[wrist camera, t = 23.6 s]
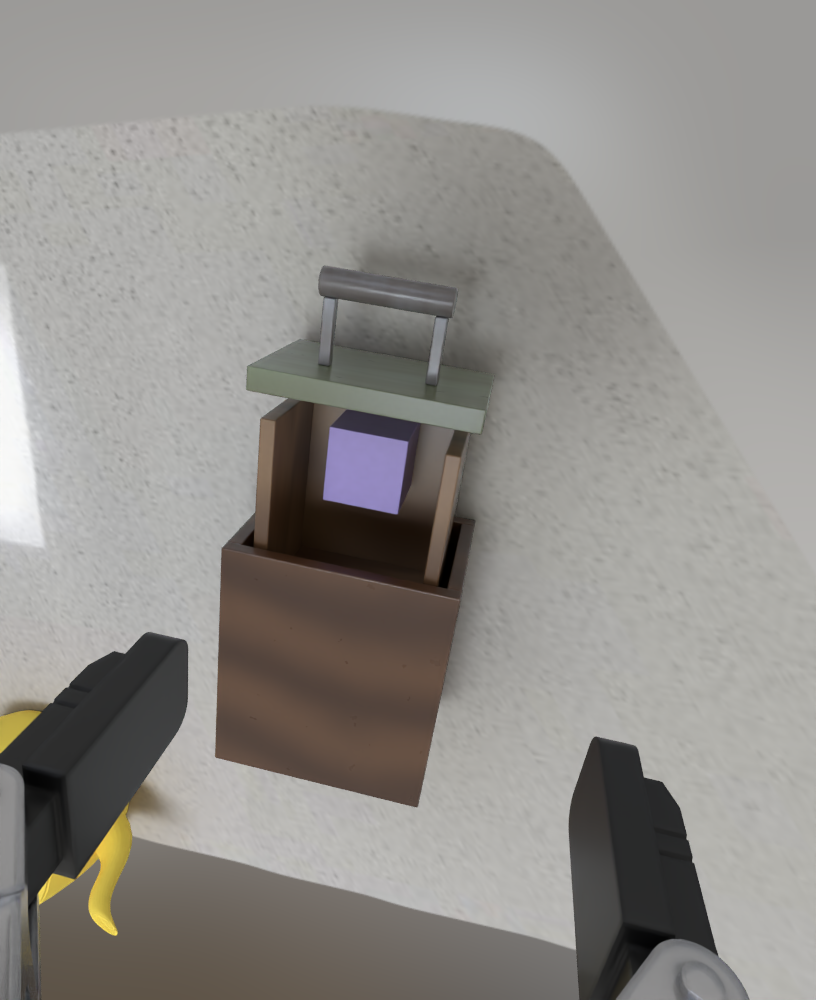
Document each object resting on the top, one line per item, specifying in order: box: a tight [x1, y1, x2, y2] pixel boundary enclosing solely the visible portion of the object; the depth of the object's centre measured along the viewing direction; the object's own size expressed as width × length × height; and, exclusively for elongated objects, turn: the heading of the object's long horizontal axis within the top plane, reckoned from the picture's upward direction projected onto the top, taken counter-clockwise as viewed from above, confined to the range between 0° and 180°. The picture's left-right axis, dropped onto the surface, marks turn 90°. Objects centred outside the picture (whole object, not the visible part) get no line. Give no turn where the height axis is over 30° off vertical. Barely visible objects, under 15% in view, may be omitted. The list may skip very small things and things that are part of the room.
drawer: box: [246, 266, 495, 587], centre depth 36 cm, size 18×11×8 cm, turn 172°
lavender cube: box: [323, 409, 420, 514], centre depth 37 cm, size 4×4×4 cm
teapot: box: [0, 710, 132, 935], centre depth 53 cm, size 22×16×11 cm
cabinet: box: [215, 514, 475, 807], centre depth 41 cm, size 15×13×10 cm
